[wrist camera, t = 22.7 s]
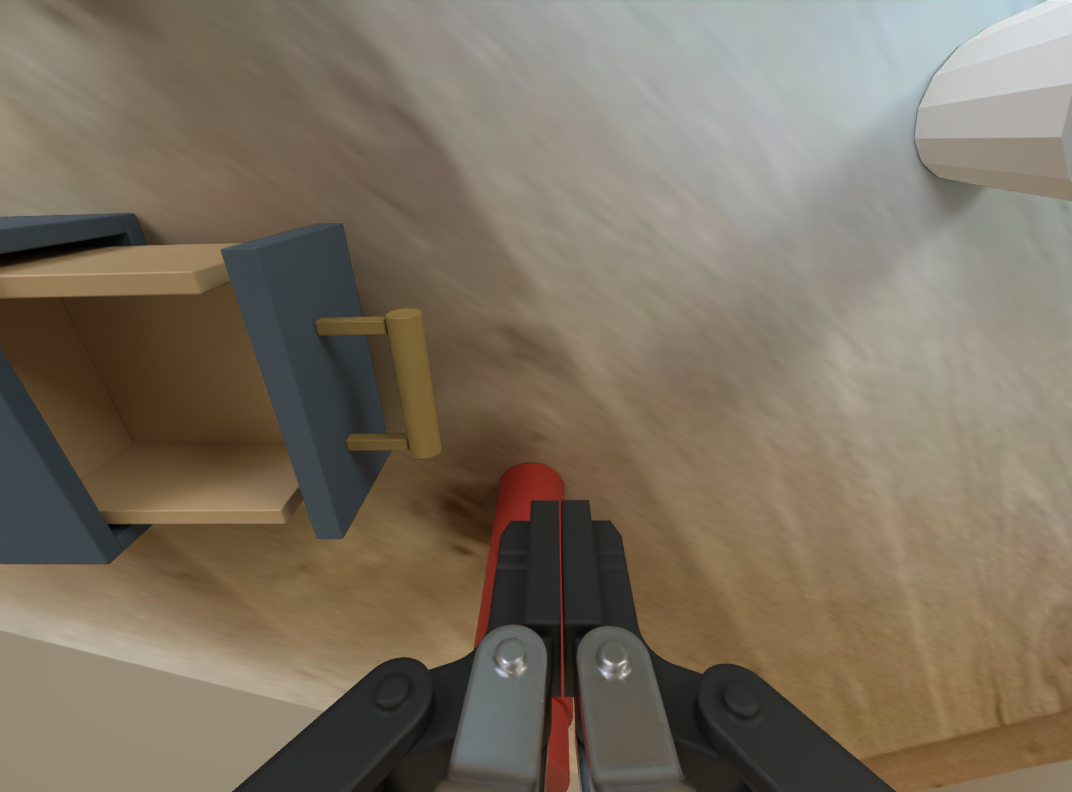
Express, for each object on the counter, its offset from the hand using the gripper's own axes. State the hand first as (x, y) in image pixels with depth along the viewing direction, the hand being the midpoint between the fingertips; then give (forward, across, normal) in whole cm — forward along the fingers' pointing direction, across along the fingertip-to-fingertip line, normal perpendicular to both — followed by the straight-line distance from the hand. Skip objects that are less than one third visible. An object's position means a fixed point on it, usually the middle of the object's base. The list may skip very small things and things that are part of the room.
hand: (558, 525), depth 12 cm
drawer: (+12, +15, 0) cm, 19 cm away
